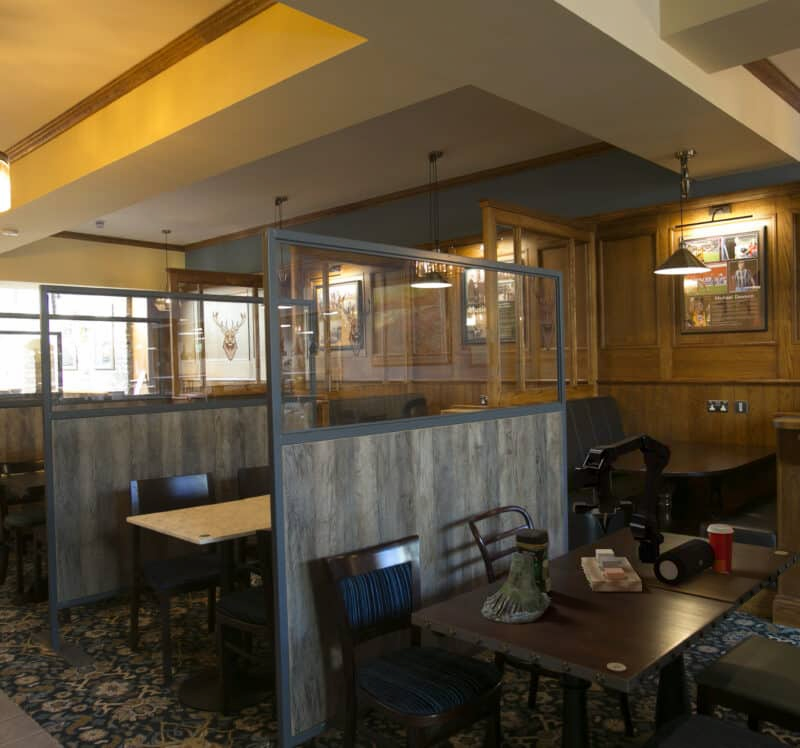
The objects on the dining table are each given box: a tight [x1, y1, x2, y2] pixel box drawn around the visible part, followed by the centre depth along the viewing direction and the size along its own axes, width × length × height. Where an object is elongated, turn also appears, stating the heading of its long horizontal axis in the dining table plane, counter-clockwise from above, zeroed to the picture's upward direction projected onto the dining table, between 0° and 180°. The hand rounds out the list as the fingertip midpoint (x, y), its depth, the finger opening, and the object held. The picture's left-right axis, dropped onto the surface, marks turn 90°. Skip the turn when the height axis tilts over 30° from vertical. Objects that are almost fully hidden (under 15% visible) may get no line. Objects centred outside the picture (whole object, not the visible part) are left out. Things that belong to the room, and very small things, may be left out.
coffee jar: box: [514, 527, 552, 594], centre depth 210 cm, size 10×8×19 cm
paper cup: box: [706, 523, 735, 574], centre depth 222 cm, size 8×8×14 cm
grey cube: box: [600, 556, 619, 571], centre depth 220 cm, size 5×5×5 cm
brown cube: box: [604, 568, 625, 580], centre depth 211 cm, size 5×5×5 cm
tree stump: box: [481, 552, 552, 625], centre depth 195 cm, size 18×20×18 cm
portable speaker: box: [652, 538, 715, 587], centre depth 217 cm, size 26×10×10 cm, turn 134°
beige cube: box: [595, 548, 615, 563], centre depth 229 cm, size 5×5×5 cm
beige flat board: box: [581, 556, 643, 592], centre depth 220 cm, size 14×26×3 cm, turn 172°
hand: (604, 534), depth 228 cm, fingers closed
